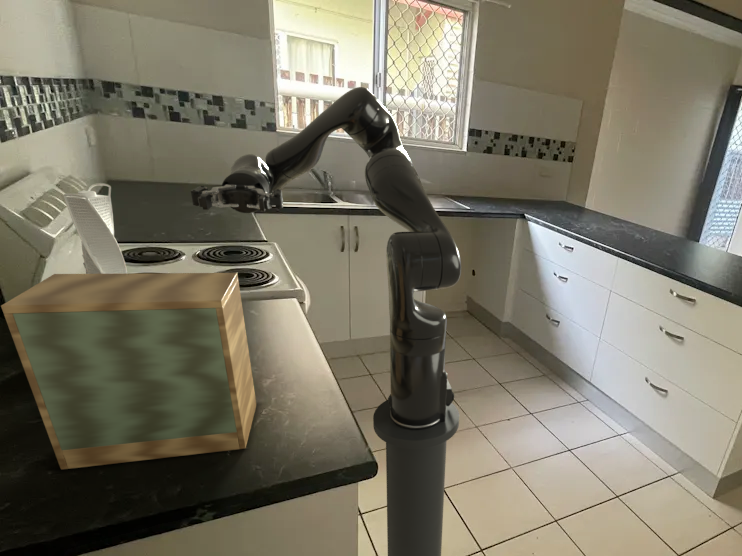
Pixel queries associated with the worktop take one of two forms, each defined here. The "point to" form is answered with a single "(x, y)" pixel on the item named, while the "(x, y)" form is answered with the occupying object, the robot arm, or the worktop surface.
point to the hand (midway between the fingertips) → (233, 204)
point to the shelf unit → (136, 364)
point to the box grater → (96, 231)
